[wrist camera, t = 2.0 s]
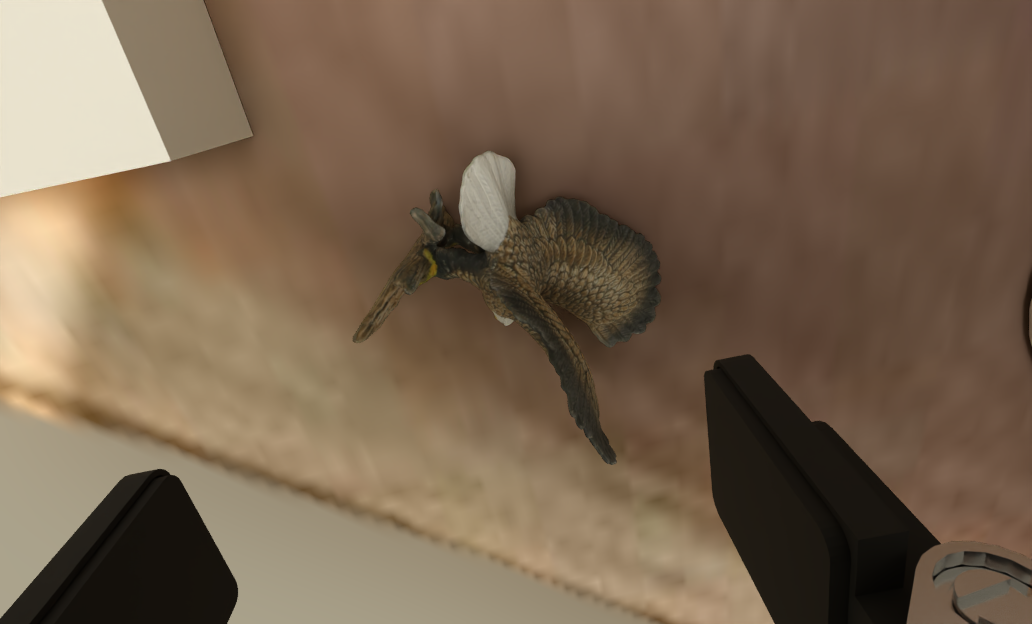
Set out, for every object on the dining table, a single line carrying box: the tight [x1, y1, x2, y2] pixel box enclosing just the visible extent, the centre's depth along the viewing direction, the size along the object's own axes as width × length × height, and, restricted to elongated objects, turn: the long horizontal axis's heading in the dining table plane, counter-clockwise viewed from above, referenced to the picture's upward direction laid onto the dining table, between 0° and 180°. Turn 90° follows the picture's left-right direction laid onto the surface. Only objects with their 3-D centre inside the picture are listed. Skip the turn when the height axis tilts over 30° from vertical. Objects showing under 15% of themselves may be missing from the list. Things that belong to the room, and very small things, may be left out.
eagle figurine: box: [353, 151, 661, 465], centre depth 18 cm, size 8×7×9 cm
